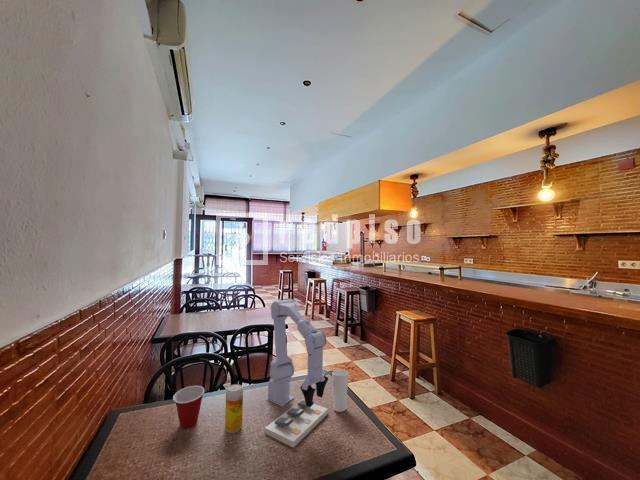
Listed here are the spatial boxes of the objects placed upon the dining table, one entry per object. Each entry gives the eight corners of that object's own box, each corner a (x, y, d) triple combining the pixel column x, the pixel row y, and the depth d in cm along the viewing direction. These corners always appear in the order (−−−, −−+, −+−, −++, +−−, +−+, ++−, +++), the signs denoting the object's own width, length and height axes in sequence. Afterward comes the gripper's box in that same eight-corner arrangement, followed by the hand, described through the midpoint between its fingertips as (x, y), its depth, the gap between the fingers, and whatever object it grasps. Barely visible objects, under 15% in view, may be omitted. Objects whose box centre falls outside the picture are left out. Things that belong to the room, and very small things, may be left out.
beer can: (236, 435, 97) (238, 392, 98) (221, 432, 99) (222, 390, 99) (244, 424, 103) (246, 384, 104) (230, 422, 104) (231, 382, 105)
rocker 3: (297, 406, 112) (297, 403, 112) (302, 402, 115) (301, 399, 115) (309, 407, 109) (309, 404, 109) (313, 403, 111) (313, 401, 112)
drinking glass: (347, 405, 117) (348, 369, 118) (347, 414, 111) (348, 376, 112) (331, 404, 118) (332, 368, 119) (331, 413, 111) (331, 375, 112)
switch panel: (264, 433, 99) (265, 426, 99) (302, 403, 118) (302, 397, 118) (293, 447, 92) (293, 440, 92) (327, 413, 111) (327, 407, 111)
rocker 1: (274, 424, 100) (274, 421, 100) (280, 419, 103) (280, 416, 103) (287, 426, 97) (287, 423, 97) (293, 421, 100) (292, 418, 100)
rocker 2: (287, 414, 106) (286, 411, 106) (292, 410, 109) (291, 407, 109) (299, 416, 103) (298, 413, 103) (304, 412, 106) (303, 409, 106)
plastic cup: (165, 428, 100) (166, 395, 101) (191, 413, 110) (192, 383, 110) (184, 438, 95) (185, 403, 96) (209, 421, 105) (210, 389, 105)
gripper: (313, 374, 95) (313, 414, 95) (333, 360, 108) (332, 395, 107) (297, 369, 99) (296, 407, 98) (318, 356, 111) (317, 390, 111)
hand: (314, 401), depth 103 cm, fingers open, 7 cm apart
